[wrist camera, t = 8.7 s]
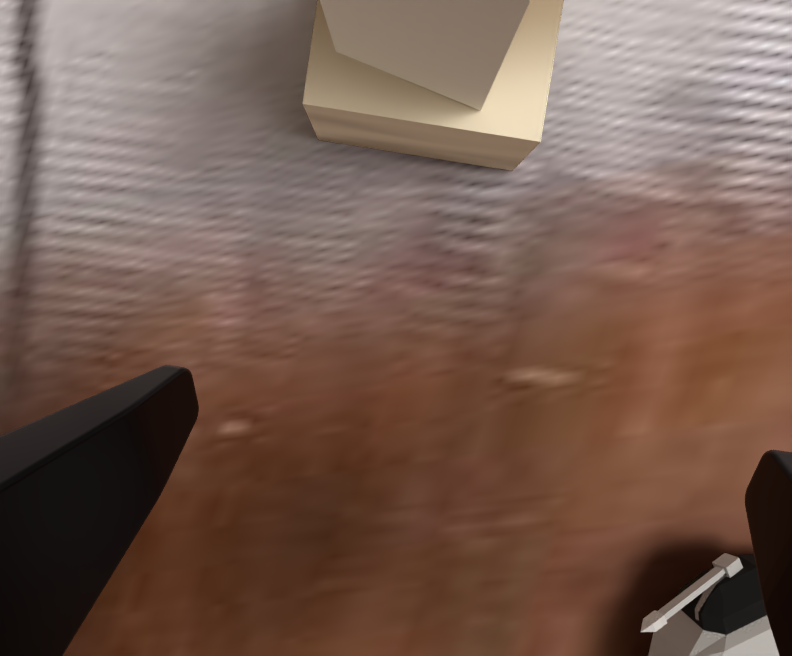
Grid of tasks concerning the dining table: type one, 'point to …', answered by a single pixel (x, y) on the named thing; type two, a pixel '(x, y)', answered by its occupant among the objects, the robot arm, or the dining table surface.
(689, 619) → the robot toy
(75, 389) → the dining table surface
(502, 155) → the tan glossy block
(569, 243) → the dining table surface
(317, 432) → the dining table surface
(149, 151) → the dining table surface
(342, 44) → the pillar
